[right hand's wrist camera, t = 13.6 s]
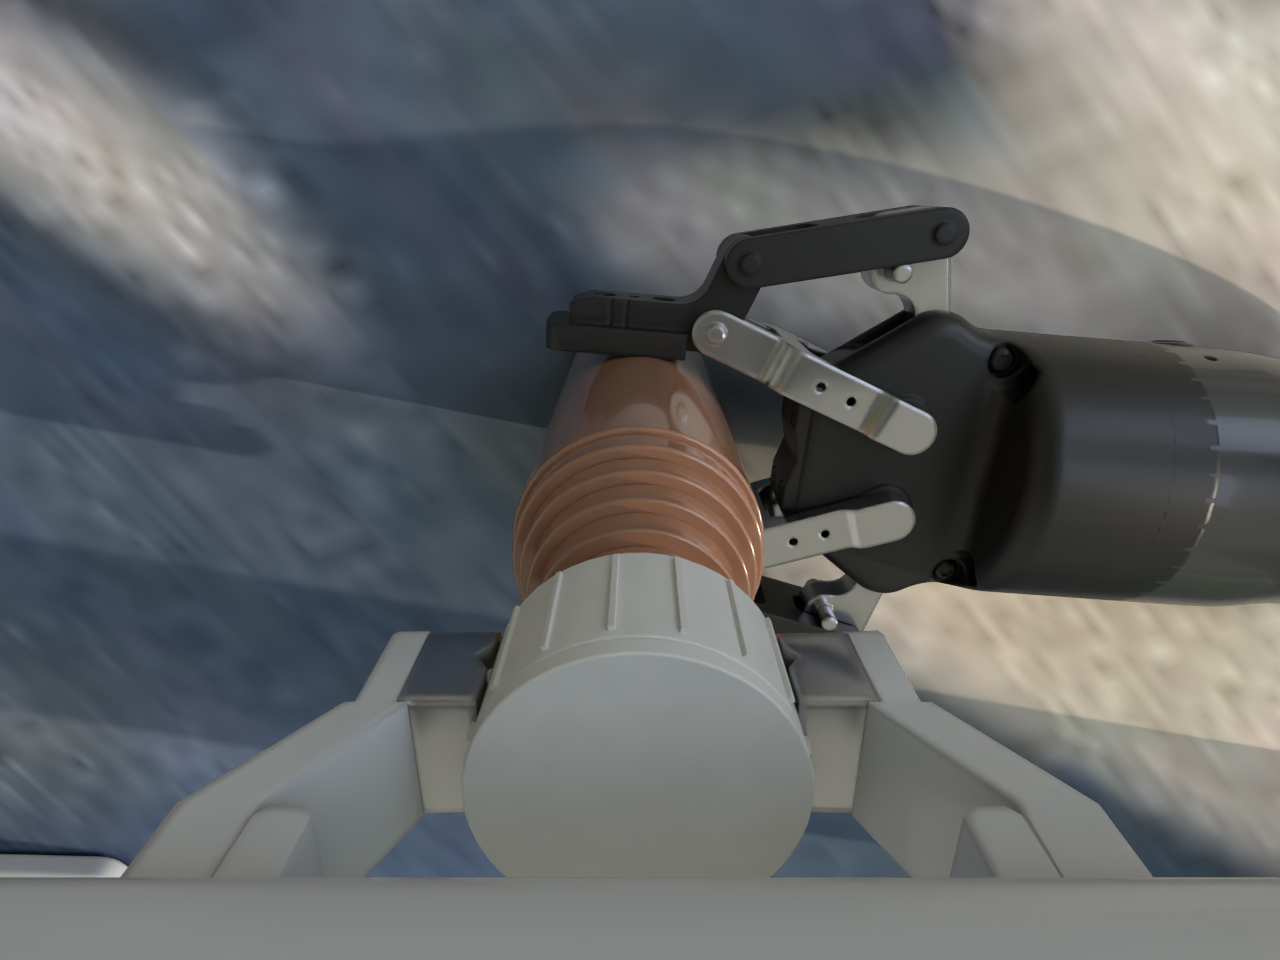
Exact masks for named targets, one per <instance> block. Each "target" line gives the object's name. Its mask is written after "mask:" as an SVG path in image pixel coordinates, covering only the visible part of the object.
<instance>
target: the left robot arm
mask: <svg viewBox="0 0 1280 960" xmlns="http://www.w3.org/2000/svg"><path fill="white" fill-rule="evenodd" d="M968 236H969V223H968V220H967V218H966V216H965V215H964V214H963V213H962V212H961V211H960V210H958V209H955V208H950V207H933V206H915V205H913V206H905V207H899V208H892V209H886V210H880V211H873V212H867V213H861V214H854V215H848V216H842V217H836V218H829V219H823V220H817V221H810V222H804V223H798V224H791V225H785V226H779V227H772V228H766V229H760V230H754V231H747V232H741V233H735V234H732V235H729V236H728V237H726V238H725V239H724V240H723V241H722V242H721V244H720V245H719V247H718V250H717V257H716V259H715V261H714V263H713V265H712V267H711V269H710V271H709V273H708V276H707V278H706V280H705V281H704V283H703V285H702V286H701V287H700V288H699V289H698V290H697V291H695V292H694V293H692V294H690V295H687V296H683V297H673V296H661V295H649V294H637V293H625V292H612V291H601V290H591V291H588V292H585V293H581V294H578V295H575V296H574V297H573V299H572V301H571V302H570V311H555V312H552V313H551V315H550V316H549V317H548V319H547V325H546V347H547V348H549V349H553V350H558V351H569V352H582V353H594V354H606V355H619V356H631V357H649V358H656V359H668V360H681V361H685V357H686V351H693V352H701V353H702V354H704V355H706V356H708V357H710V358H712V359H715V360H717V361H719V362H721V363H723V364H725V365H727V366H729V367H731V368H734V369H736V370H738V371H740V372H742V373H744V374H746V375H748V376H750V377H752V378H755V379H757V380H759V381H760V382H762V383H764V384H765V385H766V386H768V387H769V388H771V389H772V390H774V391H776V392H778V393H779V394H781V395H783V396H784V397H783V403H782V410H781V411H782V420H783V429H784V438H783V440H782V442H781V444H780V447H779V449H778V451H777V453H776V455H775V458H774V460H773V466H772V472H771V478H767V479H763V480H759V481H755V482H752V483H750V484H751V487H752V490H753V492H754V495H755V497H756V500H757V503H758V506H759V508H760V511H761V516H762V521H763V526H764V564H763V568H769V567H773V566H777V565H781V564H785V563H789V562H793V561H797V560H801V559H805V558H809V557H814V556H818V555H824V556H825V557H826V558H827V559H828V560H830V561H831V562H832V563H833V564H834V565H836V566H837V567H838V568H839V569H840V570H842V571H843V572H844V573H845V575H843V576H842V577H841V578H839V579H837V580H834V581H823V580H817V579H810V580H808V581H807V582H806V584H805V586H804V587H799V586H796V585H792V584H789V583H786V582H782V581H779V580H775V579H772V578H768V577H765V576H762V577H761V581H760V585H759V588H758V590H757V593H756V595H755V598H754V603H755V604H756V605H757V607H758V608H759V609H760V610H761V612H762V614H763V615H764V617H765V618H767V617H769V618H770V620H771V622H772V626H773V629H774V632H775V634H790V633H842V632H856V631H863V630H864V628H865V626H866V624H867V622H868V620H869V618H870V616H871V614H872V612H873V610H874V608H875V607H876V605H877V603H878V601H879V599H880V597H881V595H882V593H891V592H896V591H899V590H902V589H904V588H907V587H909V586H912V585H916V584H920V583H926V582H940V583H945V584H950V585H954V586H958V587H963V588H967V589H972V590H979V591H989V592H1003V593H1017V594H1031V595H1045V596H1059V597H1073V598H1087V599H1101V600H1116V601H1130V602H1144V603H1158V604H1173V605H1190V606H1231V605H1242V604H1256V603H1280V359H1276V358H1272V357H1268V356H1263V355H1258V354H1253V353H1249V352H1242V351H1235V350H1227V349H1218V348H1207V347H1196V346H1195V345H1192V344H1188V343H1185V342H1183V341H1170V340H1157V341H1151V342H1148V343H1146V342H1134V341H1121V340H1109V339H1098V338H1086V337H1073V336H1061V335H1049V334H1037V333H1025V332H1012V331H1000V330H988V329H981V328H976V327H974V326H973V325H971V324H970V323H969V322H968V321H966V320H965V319H964V318H962V317H961V316H959V315H957V314H955V313H953V312H950V272H951V257H952V256H954V255H956V254H957V253H958V252H959V251H960V250H961V249H962V248H963V247H964V245H965V244H966V242H967V239H968ZM857 272H861V276H862V279H863V281H864V282H865V283H866V284H867V285H868V286H869V287H871V288H873V289H875V290H878V291H880V292H883V293H885V294H897V295H898V296H899V297H900V298H901V300H902V302H903V305H904V310H902V311H901V312H899V313H897V314H895V315H894V316H892V317H890V318H888V319H887V320H885V321H883V322H881V323H880V324H878V325H876V326H874V327H873V328H871V329H869V330H867V331H866V332H864V333H862V334H860V335H859V336H857V337H855V338H853V339H851V340H850V341H848V342H846V343H844V344H843V345H841V346H839V347H837V348H836V349H834V350H832V351H830V352H827V351H825V350H823V349H821V348H819V347H817V346H815V345H813V344H811V343H809V342H807V341H805V340H803V339H801V338H799V337H796V336H794V335H792V334H790V333H788V332H786V331H784V330H782V329H780V328H778V327H776V326H773V325H770V324H767V323H765V322H763V321H761V320H759V319H757V318H754V317H752V316H750V315H748V314H747V313H748V311H749V309H750V307H751V305H752V304H753V302H754V300H755V298H756V296H757V294H758V292H759V290H760V288H761V287H766V286H772V285H779V284H785V283H792V282H798V281H805V280H811V279H818V278H824V277H831V276H837V275H844V274H850V273H857ZM774 497H775V498H774ZM782 516H783V517H782Z"/></svg>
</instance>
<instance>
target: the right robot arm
mask: <svg viewBox="0 0 1280 960" xmlns="http://www.w3.org/2000/svg"><path fill="white" fill-rule="evenodd" d="M775 636H776V639H777V642H778V645H779V649H780V652H781V655H782V659H783V662H784V665H785V669H786V672H787V675H788V678H789V682H790V685H791V688H792V692H793V695H794V698H795V702H794V703H795V707H796V710H797V713H798V717H799V720H800V723H801V727H802V730H803V733H804V736H808V740H809V743H810V746H811V749H812V754H811V755H810V757H811V762H812V766H813V770H814V784H815V790H814V800H813V807H812V811H811V812H834V813H852V817H853V818H854V819H855V820H856V821H857V822H858V823H859V824H860V825H861V826H862V827H863V828H864V829H865V830H866V831H867V832H868V833H869V834H870V835H871V836H872V837H873V838H874V839H875V840H876V841H877V842H878V843H879V844H880V845H881V847H882V848H883V849H884V850H885V851H886V852H887V853H888V854H889V855H890V856H891V857H892V858H893V859H894V860H895V861H896V862H897V863H898V864H899V865H900V866H901V867H902V868H903V869H904V870H905V871H906V872H907V873H908V874H909V875H910V877H911V878H576V877H421V878H364V877H365V876H366V875H367V874H368V873H369V872H370V871H371V870H372V869H373V868H374V867H375V866H376V865H377V864H378V863H379V862H380V861H381V860H382V859H383V858H384V857H385V856H386V855H387V854H388V852H389V851H390V850H391V849H392V848H393V847H394V846H395V845H396V844H397V843H398V842H399V841H400V840H401V839H402V838H403V837H404V836H405V835H406V834H407V833H408V832H409V831H410V830H411V829H412V828H413V827H414V826H415V825H416V824H417V823H418V822H419V821H420V820H421V819H422V818H423V813H441V812H465V811H464V807H463V799H462V792H461V787H462V771H463V766H464V761H465V756H466V753H467V750H468V746H469V743H470V741H468V740H466V737H467V733H468V730H469V727H470V724H471V721H473V722H476V720H477V717H478V714H479V711H480V707H481V704H482V701H483V697H484V694H485V691H486V688H487V684H488V679H487V671H488V670H490V669H492V668H493V665H494V662H495V658H496V655H497V652H498V649H499V645H500V642H501V639H502V636H501V634H500V633H486V632H437V631H433V632H430V631H399V632H397V633H395V634H393V635H392V636H391V638H390V640H389V641H388V643H387V645H386V647H385V649H384V650H383V652H382V654H381V656H380V657H379V659H378V661H377V663H376V665H375V666H374V668H373V670H372V672H371V673H370V675H369V677H368V679H367V681H366V682H365V684H364V686H363V688H362V689H361V691H360V693H359V695H358V697H357V698H356V700H355V702H343V703H341V704H340V705H338V706H336V707H335V708H333V709H331V710H330V711H328V712H326V713H325V714H323V715H321V716H320V717H318V718H316V719H315V720H313V721H312V722H310V723H308V724H307V725H305V726H303V727H302V728H300V729H298V730H297V731H295V732H293V733H292V734H290V735H288V736H287V737H285V738H283V739H282V740H280V741H278V742H277V743H275V744H273V745H272V746H270V747H268V748H267V749H265V750H264V751H262V752H260V753H259V754H257V755H255V756H254V757H252V758H250V759H249V760H247V761H245V762H244V763H242V764H240V765H239V766H237V767H235V768H234V769H232V770H230V771H229V772H227V773H225V774H224V775H222V776H220V777H219V778H217V779H216V780H214V781H212V782H211V783H209V784H207V785H206V786H204V787H202V788H201V789H199V790H197V791H196V792H194V793H192V794H191V795H189V796H187V797H186V798H184V799H182V800H181V801H179V802H177V803H176V804H175V806H174V807H173V808H172V810H171V811H170V812H169V814H168V815H167V816H166V818H165V819H164V820H163V822H162V823H161V824H160V826H159V827H158V828H157V829H156V831H155V832H154V833H153V835H152V836H151V837H150V839H149V840H148V841H147V843H146V844H145V845H144V847H143V848H142V849H141V850H140V852H139V853H138V854H137V856H136V857H135V858H134V860H133V861H132V862H131V864H130V865H129V866H126V865H125V864H123V863H122V862H120V861H118V860H115V859H113V858H108V857H99V856H61V855H22V854H0V960H1280V877H1153V876H1152V875H1151V873H1150V872H1149V871H1148V869H1147V868H1146V867H1145V865H1144V864H1143V863H1142V861H1141V860H1140V859H1139V857H1138V856H1137V855H1136V853H1135V852H1134V851H1133V849H1132V848H1131V847H1130V845H1129V844H1128V843H1127V841H1126V840H1125V838H1124V837H1123V836H1122V834H1121V833H1120V832H1119V830H1118V829H1117V828H1116V826H1115V825H1114V824H1113V822H1112V821H1111V820H1110V818H1109V817H1108V816H1107V814H1106V813H1105V812H1104V810H1103V809H1102V808H1101V806H1100V805H1099V804H1098V803H1096V802H1095V801H1093V800H1091V799H1090V798H1088V797H1086V796H1085V795H1083V794H1081V793H1080V792H1078V791H1077V790H1075V789H1073V788H1072V787H1070V786H1068V785H1067V784H1065V783H1063V782H1062V781H1060V780H1059V779H1057V778H1055V777H1054V776H1052V775H1050V774H1049V773H1047V772H1045V771H1044V770H1042V769H1040V768H1039V767H1037V766H1036V765H1034V764H1032V763H1031V762H1029V761H1027V760H1026V759H1024V758H1022V757H1021V756H1019V755H1018V754H1016V753H1014V752H1013V751H1011V750H1009V749H1008V748H1006V747H1004V746H1003V745H1001V744H1000V743H998V742H996V741H995V740H993V739H991V738H990V737H988V736H986V735H985V734H983V733H981V732H980V731H978V730H977V729H975V728H973V727H972V726H970V725H968V724H967V723H965V722H963V721H962V720H960V719H959V718H957V717H955V716H954V715H952V714H950V713H949V712H947V711H945V710H944V709H942V708H941V707H939V706H937V705H936V704H934V703H932V702H921V701H920V700H919V698H918V696H917V694H916V692H915V691H914V689H913V687H912V685H911V684H910V682H909V680H908V678H907V676H906V675H905V673H904V671H903V669H902V667H901V666H900V664H899V662H898V660H897V659H896V657H895V655H894V653H893V651H892V650H891V648H890V646H889V644H888V642H887V641H886V639H885V637H884V635H883V634H882V633H880V632H879V631H856V632H842V633H790V634H775Z"/></svg>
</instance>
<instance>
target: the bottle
mask: <svg viewBox="0 0 1280 960" xmlns="http://www.w3.org/2000/svg"><path fill="white" fill-rule="evenodd" d="M512 546H513V550H512V559H513V571H514V575H515V580H516V584H517V587H518V589H519V592H520V595H521V597H522V601H524V600H525V599H526V598H527V597H528V596H529V595H530V594H531V593H532V592H533V591H534V590H535V589H536V588H538V587H539V586H540V585H542V584H543V583H544V582H546V581H547V580H549V579H550V578H551V577H553V576H554V575H555V574H556V573H557V572H559V571H561V572H562V571H564V570H566V569H568V568H569V567H572V566H574V565H577V564H579V563H582V562H585V561H587V560H591V559H595V558H599V557H603V556H607V555H613V554H622V553H654V554H664V555H669V556H676V557H680V558H682V559H686V560H689V561H692V562H695V563H697V564H700V565H703V566H705V567H707V568H709V569H711V570H713V571H715V572H717V573H719V574H721V575H722V576H724V577H725V578H727V579H728V580H729V579H731V580H733V581H734V583H735V585H737V586H738V587H739V588H740V589H741V590H742V591H743V592H744V593H746V594H747V595H748V596H749V597H750V598H751V600H752V601H753V602H754V598H755V595H756V593H757V590H758V588H759V585H760V581H761V577H762V573H763V564H764V526H763V521H762V516H761V511H760V508H759V506H758V503H757V500H756V497H755V495H754V492H753V490H752V487H751V484H750V482H749V479H748V476H747V474H746V471H745V469H744V466H743V463H742V461H741V458H740V455H739V453H738V450H737V448H736V445H735V442H734V440H733V437H732V434H731V432H730V429H729V427H728V424H727V421H726V419H725V416H724V413H723V411H722V408H721V405H720V403H719V400H718V398H717V395H716V392H715V390H714V387H713V384H712V382H711V379H710V377H709V374H708V371H707V369H706V366H705V363H704V361H703V358H702V356H701V353H700V352H693V351H686V357H685V361H681V360H668V359H656V358H649V357H631V356H619V355H606V354H594V353H582V352H576V354H575V357H574V359H573V362H572V364H571V367H570V370H569V372H568V375H567V378H566V380H565V383H564V385H563V388H562V391H561V393H560V396H559V399H558V401H557V404H556V406H555V409H554V412H553V414H552V417H551V420H550V422H549V425H548V427H547V430H546V433H545V435H544V438H543V441H542V443H541V446H540V448H539V451H538V454H537V456H536V459H535V461H534V464H533V467H532V469H531V472H530V475H529V477H528V480H527V482H526V485H525V488H524V490H523V493H522V496H521V498H520V501H519V503H518V506H517V509H516V513H515V518H514V522H513V532H512Z"/></svg>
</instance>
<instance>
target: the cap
mask: <svg viewBox="0 0 1280 960" xmlns="http://www.w3.org/2000/svg"><path fill="white" fill-rule="evenodd" d="M487 679H488V684H487V688H486V691H485V694H484V697H483V701H482V704H481V707H480V711H479V714H478V717H477V720H476V722H473V721H471V724H470V727H469V730H468V733H467V737H466V740H468V741H470V743H469V746H468V750H467V753H466V756H465V761H464V766H463V771H462V787H461V792H462V799H463V807H464V811H465V814H466V818H467V821H468V824H469V827H470V829H471V831H472V833H473V835H474V837H475V839H476V841H477V843H478V845H479V846H480V848H481V849H482V851H483V852H484V853H485V855H486V856H487V858H488V859H489V860H490V861H491V862H492V863H493V864H494V865H495V866H496V868H497V869H498V870H499V871H500V872H501V873H502V874H504V875H505V876H506V877H576V878H769V877H770V876H771V875H772V874H774V873H775V872H776V871H777V870H778V869H779V868H780V867H781V866H782V865H783V863H784V862H785V861H786V860H787V859H788V858H789V857H790V855H791V854H792V852H793V851H794V849H795V848H796V846H797V845H798V843H799V842H800V840H801V838H802V836H803V834H804V831H805V829H806V827H807V825H808V822H809V818H810V814H811V811H812V807H813V800H814V790H815V784H814V770H813V766H812V762H811V757H810V755H811V754H812V749H811V746H810V743H809V740H808V736H804V733H803V730H802V727H801V723H800V720H799V717H798V713H797V710H796V707H795V703H794V702H795V698H794V695H793V692H792V688H791V685H790V682H789V678H788V675H787V672H786V669H785V665H784V662H783V659H782V655H781V652H780V649H779V645H778V642H777V639H776V636H775V632H774V629H773V626H772V622H771V620H770V618H769V617H767V618H765V617H764V615H763V614H762V612H761V610H760V609H759V608H758V607H757V605H756V604H755V603H754V602H753V601H752V600H751V598H750V597H749V596H748V595H747V594H746V593H744V592H743V591H742V590H741V589H740V588H739V587H738V586H737V585H735V583H734V581H733V580H731V579H729V580H728V579H727V578H725V577H724V576H722V575H721V574H719V573H717V572H715V571H713V570H711V569H709V568H707V567H705V566H703V565H700V564H697V563H695V562H692V561H689V560H686V559H682V558H680V557H676V556H669V555H664V554H654V553H622V554H613V555H607V556H603V557H599V558H595V559H591V560H587V561H585V562H582V563H579V564H577V565H574V566H572V567H569V568H568V569H566V570H564V571H562V572H561V571H559V572H557V573H556V574H555V575H554V576H553V577H551V578H550V579H549V580H547V581H546V582H544V583H543V584H542V585H540V586H539V587H538V588H536V589H535V590H534V591H533V592H532V593H531V594H530V595H529V596H528V597H527V598H526V599H525V600H524V601H523V603H522V604H521V605H520V606H517V605H516V607H515V608H514V609H513V613H512V616H511V619H510V621H509V623H508V625H507V627H506V629H505V632H504V634H503V637H502V639H501V642H500V645H499V649H498V652H497V655H496V658H495V662H494V665H493V668H492V669H490V670H488V671H487Z"/></svg>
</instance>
